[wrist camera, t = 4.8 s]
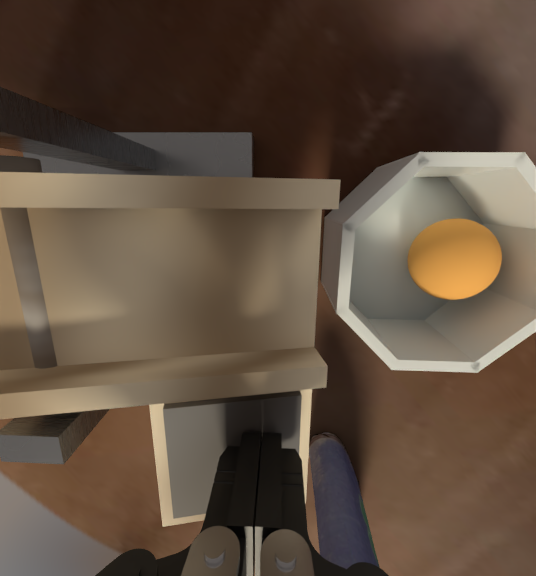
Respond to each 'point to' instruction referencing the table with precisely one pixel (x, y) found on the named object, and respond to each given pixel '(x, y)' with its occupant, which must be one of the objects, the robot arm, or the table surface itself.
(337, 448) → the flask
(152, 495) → the table surface
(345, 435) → the table surface
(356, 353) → the table surface
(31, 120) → the lever stand
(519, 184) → the cup
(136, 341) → the lever
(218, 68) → the table surface
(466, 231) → the ball
